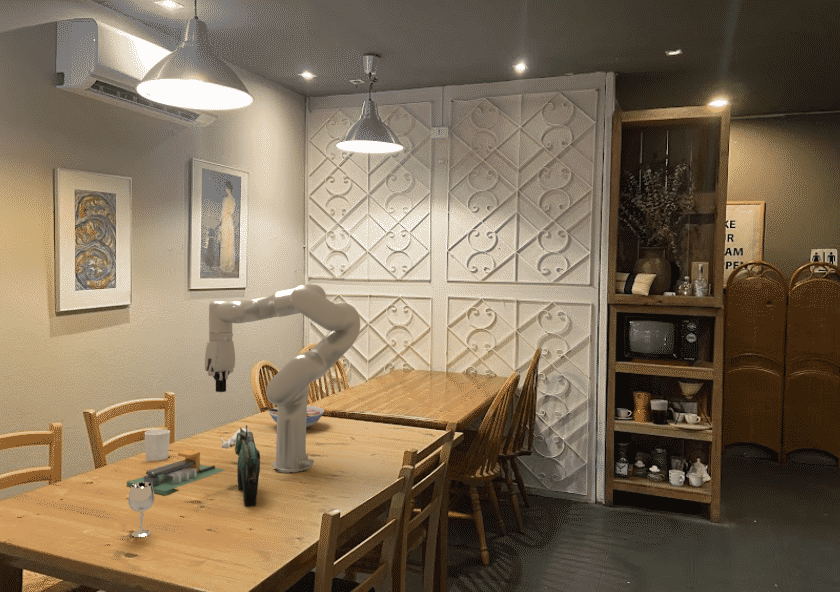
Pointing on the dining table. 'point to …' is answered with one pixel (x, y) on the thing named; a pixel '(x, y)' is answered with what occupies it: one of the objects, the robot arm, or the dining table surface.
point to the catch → (192, 458)
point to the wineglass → (141, 503)
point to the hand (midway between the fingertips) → (220, 391)
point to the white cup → (157, 444)
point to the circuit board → (169, 488)
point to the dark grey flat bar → (170, 467)
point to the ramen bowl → (311, 415)
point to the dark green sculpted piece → (247, 466)
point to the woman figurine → (232, 439)
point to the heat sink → (172, 476)
